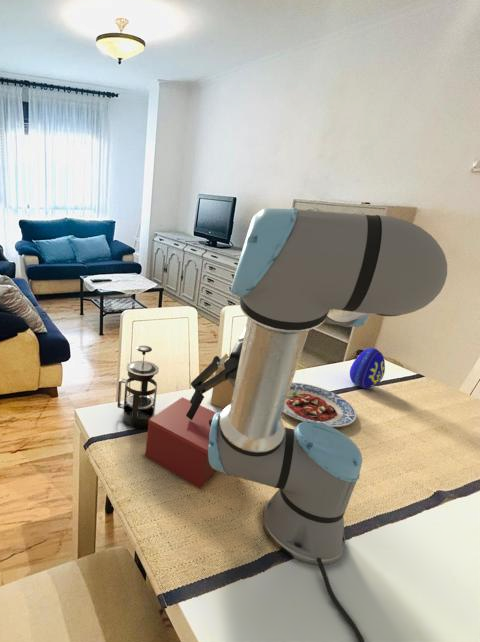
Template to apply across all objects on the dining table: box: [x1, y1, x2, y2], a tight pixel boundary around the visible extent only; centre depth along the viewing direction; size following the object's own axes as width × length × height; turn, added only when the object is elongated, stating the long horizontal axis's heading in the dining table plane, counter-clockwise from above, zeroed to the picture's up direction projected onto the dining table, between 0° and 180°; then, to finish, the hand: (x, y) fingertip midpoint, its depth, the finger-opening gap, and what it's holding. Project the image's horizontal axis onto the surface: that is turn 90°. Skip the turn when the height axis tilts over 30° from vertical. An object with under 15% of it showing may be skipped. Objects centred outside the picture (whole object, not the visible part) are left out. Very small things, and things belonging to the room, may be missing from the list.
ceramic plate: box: [282, 382, 357, 428], centre depth 123 cm, size 26×26×3 cm
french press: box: [117, 345, 160, 430], centre depth 108 cm, size 12×9×23 cm
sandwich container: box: [210, 352, 235, 409], centre depth 119 cm, size 9×15×15 cm, turn 58°
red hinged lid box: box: [144, 423, 218, 490], centre depth 96 cm, size 16×15×10 cm
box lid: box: [149, 397, 224, 454], centre depth 93 cm, size 17×15×6 cm
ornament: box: [349, 347, 386, 390], centre depth 137 cm, size 11×9×15 cm
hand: (209, 428), depth 89 cm, fingers open, 11 cm apart
